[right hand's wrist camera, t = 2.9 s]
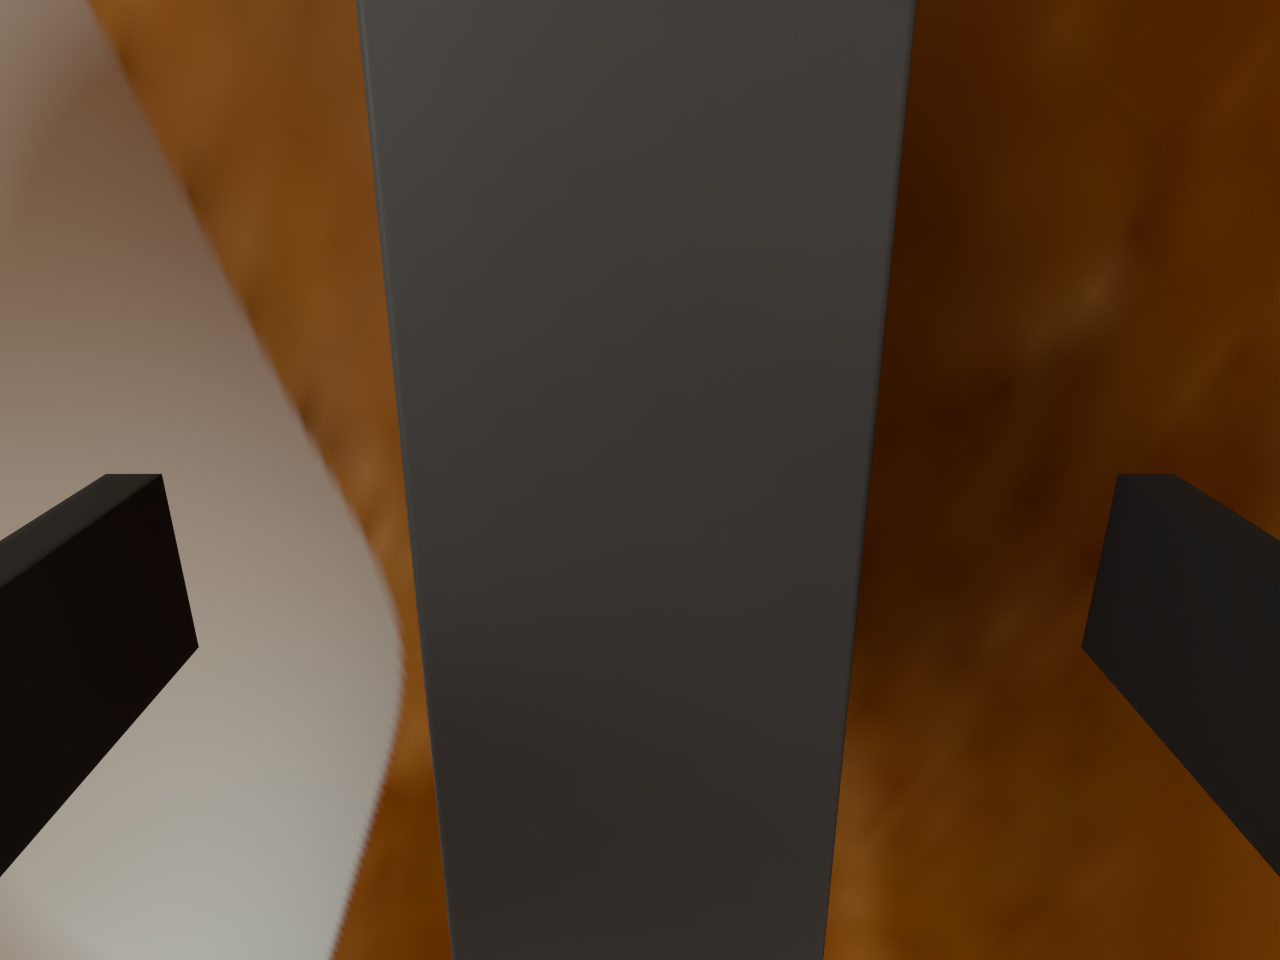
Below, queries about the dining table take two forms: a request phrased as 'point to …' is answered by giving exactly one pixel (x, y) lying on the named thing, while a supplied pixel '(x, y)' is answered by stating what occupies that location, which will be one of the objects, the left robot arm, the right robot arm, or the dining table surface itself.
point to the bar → (636, 447)
